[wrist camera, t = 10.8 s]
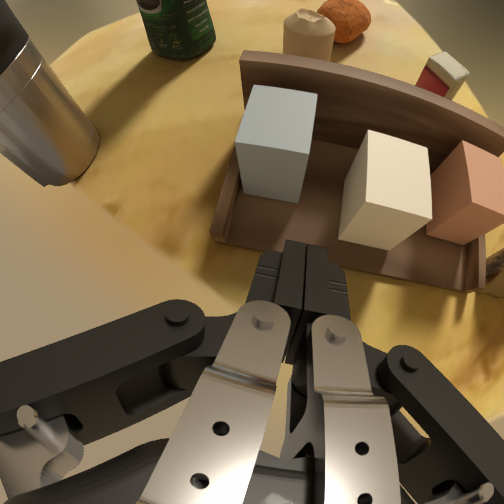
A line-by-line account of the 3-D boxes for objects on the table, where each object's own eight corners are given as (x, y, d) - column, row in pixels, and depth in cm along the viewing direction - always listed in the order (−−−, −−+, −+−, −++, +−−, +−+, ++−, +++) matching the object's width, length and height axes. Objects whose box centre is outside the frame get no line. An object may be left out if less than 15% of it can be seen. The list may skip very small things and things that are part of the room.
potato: (300, 38, 34) (303, 0, 27) (338, 15, 36) (343, -16, 29) (343, 57, 32) (352, 18, 25) (375, 31, 35) (384, 0, 28)
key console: (468, 293, 23) (534, 273, 14) (216, 242, 26) (187, 192, 16) (463, 176, 27) (509, 130, 17) (250, 121, 29) (243, 50, 20)
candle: (333, 77, 31) (346, 16, 21) (310, 97, 30) (320, 30, 21) (298, 60, 32) (302, -1, 23) (273, 78, 31) (273, 13, 22)
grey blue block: (298, 203, 26) (309, 154, 18) (243, 193, 26) (234, 141, 19) (306, 150, 27) (317, 94, 20) (257, 141, 28) (253, 84, 20)
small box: (425, 87, 31) (445, 50, 23) (447, 108, 30) (470, 72, 22) (407, 96, 30) (428, 55, 22) (431, 119, 29) (456, 79, 21)
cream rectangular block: (389, 250, 24) (432, 219, 17) (337, 239, 25) (365, 201, 17) (391, 192, 26) (427, 148, 18) (344, 180, 26) (367, 129, 18)
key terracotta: (463, 245, 24) (511, 218, 16) (425, 234, 24) (472, 201, 17) (460, 194, 25) (501, 158, 18) (424, 181, 26) (462, 140, 18)
